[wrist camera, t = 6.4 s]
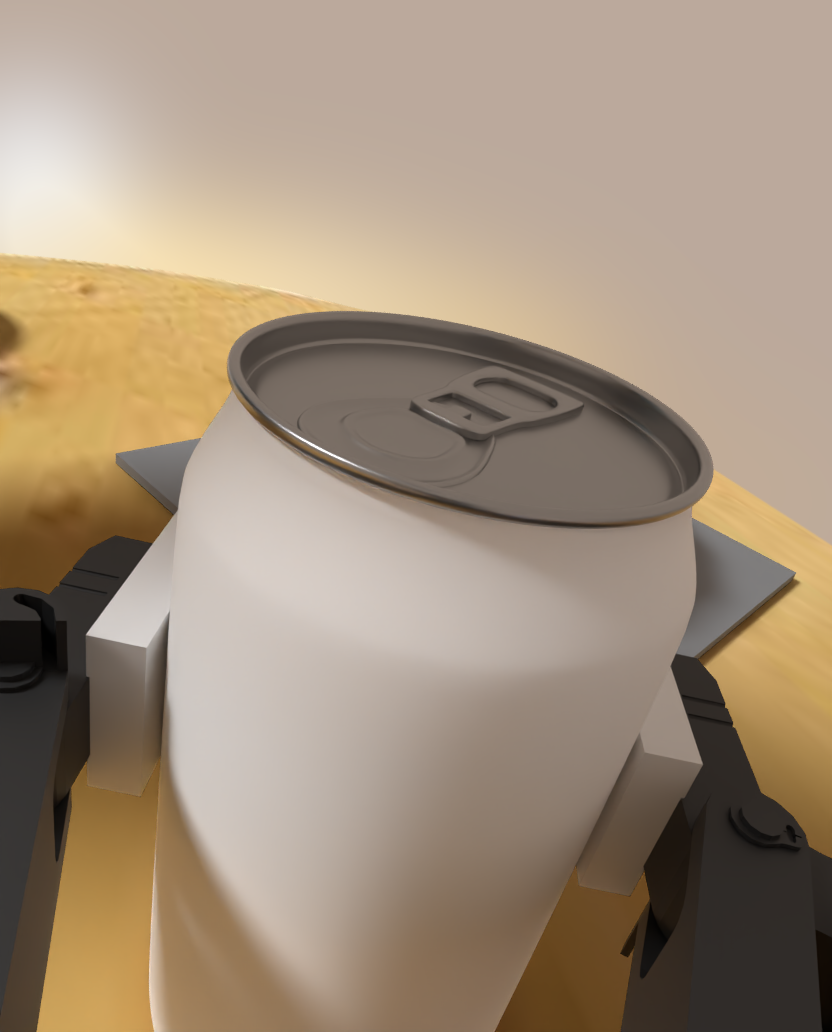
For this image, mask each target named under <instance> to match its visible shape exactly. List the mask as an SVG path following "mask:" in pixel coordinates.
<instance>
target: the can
mask: <svg viewBox="0 0 832 1032" xmlns="http://www.w3.org/2000/svg"><path fill="white" fill-rule="evenodd" d="M227 374H228V379H229V382H230V385H231V387H232V391H231V393H230V395H229V397H228V398H227V400H226V401H225V403H224V405H223V406H222V408H221V409H220V411H219V412H218V413H217V415H216V416H215V418H214V419H213V421H212V422H211V424H210V425H209V427H208V428H207V430H206V431H205V433H204V434H203V436H202V438H201V439H200V441H199V443H198V444H197V446H196V448H195V450H194V451H193V453H192V455H191V458H190V460H189V462H188V464H187V466H186V469H185V472H184V477H183V482H182V487H181V492H180V497H179V506H178V516H177V526H176V536H175V546H174V560H173V574H172V588H171V602H170V617H169V632H168V648H167V663H166V679H165V694H164V711H163V727H162V743H161V760H160V776H159V793H158V810H157V827H156V844H155V862H154V879H153V898H152V917H151V937H150V961H149V995H150V1007H151V1016H152V1022H153V1028H154V1032H495V1030H496V1028H497V1026H498V1024H499V1022H500V1020H501V1018H502V1016H503V1013H504V1011H505V1009H506V1007H507V1005H508V1003H509V1001H510V999H511V997H512V995H513V993H514V991H515V989H516V987H517V985H518V983H519V981H520V979H521V977H522V975H523V973H524V971H525V969H526V967H527V965H528V963H529V960H530V958H531V956H532V954H533V952H534V950H535V948H536V946H537V944H538V942H539V940H540V938H541V936H542V934H543V932H544V930H545V928H546V926H547V923H548V921H549V919H550V917H551V915H552V913H553V911H554V909H555V907H556V905H557V903H558V901H559V899H560V897H561V895H562V893H563V890H564V888H565V886H566V884H567V882H568V880H569V878H570V876H571V874H572V872H573V870H574V868H575V866H576V864H577V862H578V859H579V857H580V855H581V853H582V851H583V849H584V847H585V845H586V843H587V841H588V839H589V837H590V835H591V833H592V830H593V828H594V826H595V824H596V822H597V820H598V818H599V816H600V814H601V812H602V810H603V808H604V805H605V803H606V801H607V799H608V797H609V795H610V793H611V791H612V789H613V787H614V785H615V782H616V780H617V778H618V776H619V774H620V772H621V770H622V768H623V766H624V764H625V762H626V759H627V757H628V755H629V753H630V751H631V749H632V747H633V745H634V743H635V741H636V739H637V736H638V734H639V732H640V730H641V728H642V726H643V724H644V722H645V719H646V717H647V715H648V713H649V711H650V709H651V707H652V705H653V702H654V700H655V698H656V696H657V694H658V692H659V690H660V688H661V685H662V683H663V681H664V679H665V677H666V675H667V672H668V670H669V668H670V666H671V663H672V661H673V659H674V657H675V654H676V652H677V650H678V647H679V645H680V643H681V640H682V638H683V636H684V634H685V631H686V628H687V625H688V622H689V619H690V616H691V613H692V610H693V607H694V602H695V595H696V559H695V547H694V537H693V527H692V506H693V505H694V504H696V503H697V502H698V501H699V500H700V499H701V498H702V497H703V496H704V494H705V493H706V492H707V490H708V488H709V487H710V484H711V482H712V478H713V462H712V458H711V455H710V452H709V450H708V448H707V446H706V445H705V443H704V441H703V440H702V439H701V437H700V436H699V435H698V434H697V432H696V431H695V430H694V429H693V428H692V427H691V426H690V425H689V424H688V423H687V422H686V421H685V420H684V419H683V418H682V417H680V416H679V415H678V414H677V413H676V412H674V411H673V410H672V409H670V408H669V407H668V406H666V405H665V404H663V403H662V402H661V401H659V400H658V399H656V398H654V397H653V396H651V395H650V394H648V393H647V392H645V391H643V390H642V389H640V388H638V387H636V386H634V385H633V384H631V383H629V382H627V381H625V380H623V379H621V378H619V377H617V376H615V375H613V374H611V373H609V372H607V371H605V370H603V369H601V368H598V367H596V366H594V365H591V364H589V363H587V362H584V361H582V360H579V359H577V358H574V357H572V356H569V355H567V354H564V353H561V352H559V351H556V350H553V349H550V348H547V347H544V346H541V345H538V344H535V343H532V342H529V341H525V340H522V339H518V338H515V337H512V336H508V335H505V334H501V333H497V332H493V331H489V330H485V329H481V328H476V327H472V326H468V325H463V324H458V323H453V322H448V321H442V320H437V319H430V318H424V317H416V316H410V315H401V314H391V313H379V312H361V311H332V312H315V313H305V314H298V315H292V316H287V317H282V318H278V319H275V320H271V321H268V322H266V323H263V324H260V325H258V326H256V327H254V328H252V329H250V330H249V331H247V332H246V333H244V334H243V335H242V336H241V337H240V338H239V339H238V340H237V341H236V342H235V343H234V345H233V346H232V348H231V350H230V352H229V355H228V360H227Z"/></svg>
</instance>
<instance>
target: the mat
mask: <svg viewBox="0 0 832 1032" xmlns="http://www.w3.org/2000/svg"><path fill="white" fill-rule="evenodd" d="M200 439H201V438H199V439H194V440H188V441H183V442H177V443H172V444H166V445H161V446H155V447H150V448H144V449H138V450H133V451H127V452H122V453H116V463H117V464H118V465H119V466H120V467H121V468H122V469H123V470H124V471H126V472H127V473H128V474H129V475H130V476H131V477H132V478H133V479H135V480H136V481H137V482H138V483H139V484H140V485H141V486H142V487H144V488H145V489H146V490H147V491H148V492H149V493H150V494H151V495H153V496H154V497H155V498H156V499H157V500H158V501H159V502H160V503H162V504H163V505H164V506H165V507H166V508H167V509H168V510H169V511H171V512H172V513H173V514H175V513H176V512H177V510H178V506H179V497H180V492H181V487H182V482H183V477H184V472H185V469H186V466H187V464H188V462H189V460H190V458H191V455H192V453H193V451H194V450H195V448H196V446H197V444H198V443H199V441H200ZM692 527H693V537H694V547H695V559H696V595H695V602H694V607H693V610H692V613H691V616H690V619H689V622H688V625H687V628H686V631H685V634H684V636H683V638H682V640H681V643H680V645H679V647H678V650H677V652H676V654H680V655H685V656H689V657H694V658H697V659H698V658H700V657H701V656H702V655H703V654H704V653H706V652H707V651H708V650H709V649H710V648H712V647H713V646H714V645H715V644H716V643H718V642H719V641H720V640H721V639H722V638H724V637H725V636H726V635H727V634H728V633H730V632H731V631H732V630H733V629H734V628H736V627H737V626H738V625H739V624H740V623H742V622H743V621H744V620H745V619H746V618H748V617H749V616H750V615H751V614H752V613H754V612H755V611H756V610H757V609H758V608H760V607H761V606H762V605H763V604H764V603H766V602H767V601H768V600H769V599H770V598H772V597H773V596H774V595H775V594H776V593H778V592H779V591H780V590H781V589H782V588H784V587H785V586H786V585H787V584H788V583H790V582H791V581H792V580H793V578H794V576H795V574H796V572H794V571H792V570H790V569H788V568H786V567H784V566H782V565H781V564H779V563H777V562H775V561H773V560H771V559H769V558H767V557H765V556H763V555H762V554H760V553H758V552H756V551H754V550H752V549H750V548H748V547H746V546H745V545H743V544H741V543H739V542H737V541H735V540H733V539H731V538H729V537H728V536H726V535H724V534H722V533H720V532H718V531H716V530H714V529H712V528H711V527H709V526H707V525H705V524H703V523H701V522H699V521H697V520H695V519H693V518H692Z"/></svg>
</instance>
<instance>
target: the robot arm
mask: <svg viewBox="0 0 832 1032" xmlns="http://www.w3.org/2000/svg"><path fill="white" fill-rule="evenodd" d="M177 516H178V510H177V512H176V513H175V514H174V516H173V517H172V519H171V520H170V521H169V523H168V524H167V525H166V527H165V528H164V529H163V531H162V532H161V533H160V535H159V536H158V538H157V539H156V540H155V542H154V543H148V542H144V541H139V540H134V539H130V538H125V537H120V536H116V535H115V536H113V537H111V538H109V539H107V540H105V541H103V542H102V543H100V544H98V545H96V546H94V547H92V548H90V549H88V551H87V552H86V553H85V554H84V555H83V556H82V558H81V559H80V560H79V561H78V562H77V563H76V564H75V566H74V567H73V570H72V571H69V572H68V574H67V575H66V576H65V577H64V578H63V579H62V581H61V582H60V585H59V587H57V586H56V587H55V589H54V590H53V591H52V592H51V593H50V594H49V595H48V594H46V593H44V592H41V591H39V590H32V589H24V588H7V589H0V1032H36V1031H37V1024H38V1018H39V1012H40V1005H41V999H42V993H43V986H44V980H45V973H46V967H47V961H48V954H49V948H50V942H51V935H52V929H53V923H54V916H55V910H56V904H57V897H58V891H59V884H60V878H61V872H62V865H63V859H64V853H65V846H66V840H67V834H68V827H69V821H70V815H71V808H72V803H71V786H72V784H73V783H74V781H75V779H76V778H77V776H78V774H79V773H80V771H81V769H82V768H83V766H84V764H85V763H86V761H87V786H90V787H95V788H100V789H105V790H110V791H115V792H119V793H124V794H129V795H134V796H139V797H141V795H142V793H143V791H144V789H145V787H146V785H147V783H148V781H149V779H150V777H151V775H152V773H153V771H154V769H155V767H156V765H157V762H158V760H159V758H160V756H161V743H162V727H163V711H164V694H165V679H166V663H167V648H168V632H169V617H170V602H171V588H172V574H173V560H174V546H175V536H176V526H177ZM576 867H577V876H578V884H579V886H581V887H586V888H591V889H596V890H601V891H606V892H611V893H616V894H621V895H626V896H630V895H631V894H632V892H633V890H634V888H635V886H636V885H637V883H638V881H639V879H640V877H641V876H642V874H643V872H645V876H646V881H647V886H648V891H649V896H650V900H649V902H648V904H647V905H646V907H645V909H644V911H643V912H642V914H641V916H640V918H639V919H638V921H637V923H636V925H635V926H634V928H633V930H632V932H631V933H630V935H629V937H628V938H627V940H626V942H625V944H624V947H623V949H622V951H621V953H620V954H622V955H624V956H626V957H628V956H629V955H630V953H631V951H632V950H633V948H634V953H633V959H632V965H631V971H630V977H629V983H628V989H627V995H626V1001H625V1008H624V1014H623V1020H622V1026H621V1032H832V858H829V857H827V856H825V855H823V854H821V853H819V852H818V851H816V850H814V849H812V848H810V847H809V845H808V842H807V839H806V835H805V833H804V831H803V830H802V828H801V827H800V826H799V824H798V823H797V821H796V820H795V818H794V817H793V816H792V815H791V814H790V813H789V812H787V811H786V810H785V809H784V808H783V807H782V806H781V805H780V804H778V803H777V802H776V801H774V800H773V799H771V798H769V797H767V796H766V795H764V794H762V793H761V791H760V789H759V786H758V784H757V781H756V779H755V776H754V774H753V771H752V769H751V766H750V764H749V761H748V759H747V756H746V754H745V751H744V749H743V746H742V744H741V741H740V739H739V736H738V734H737V731H736V729H735V728H733V721H732V719H731V716H730V714H729V711H728V709H727V708H725V701H724V699H723V696H722V694H721V691H720V689H719V686H718V684H717V681H716V680H715V679H714V678H713V676H712V675H711V674H710V673H709V672H708V671H707V670H706V668H705V667H704V666H703V665H702V664H701V663H700V661H699V660H698V659H697V658H694V657H689V656H685V655H680V654H675V657H674V659H673V661H672V663H671V666H670V668H669V670H668V672H667V675H666V677H665V679H664V681H663V683H662V685H661V688H660V690H659V692H658V694H657V696H656V698H655V700H654V702H653V705H652V707H651V709H650V711H649V713H648V715H647V717H646V719H645V722H644V724H643V726H642V728H641V730H640V732H639V734H638V736H637V739H636V741H635V743H634V745H633V747H632V749H631V751H630V753H629V755H628V757H627V759H626V762H625V764H624V766H623V768H622V770H621V772H620V774H619V776H618V778H617V780H616V782H615V785H614V787H613V789H612V791H611V793H610V795H609V797H608V799H607V801H606V803H605V805H604V808H603V810H602V812H601V814H600V816H599V818H598V820H597V822H596V824H595V826H594V828H593V830H592V833H591V835H590V837H589V839H588V841H587V843H586V845H585V847H584V849H583V851H582V853H581V855H580V857H579V859H578V862H577V864H576ZM634 946H635V947H634Z"/></svg>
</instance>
